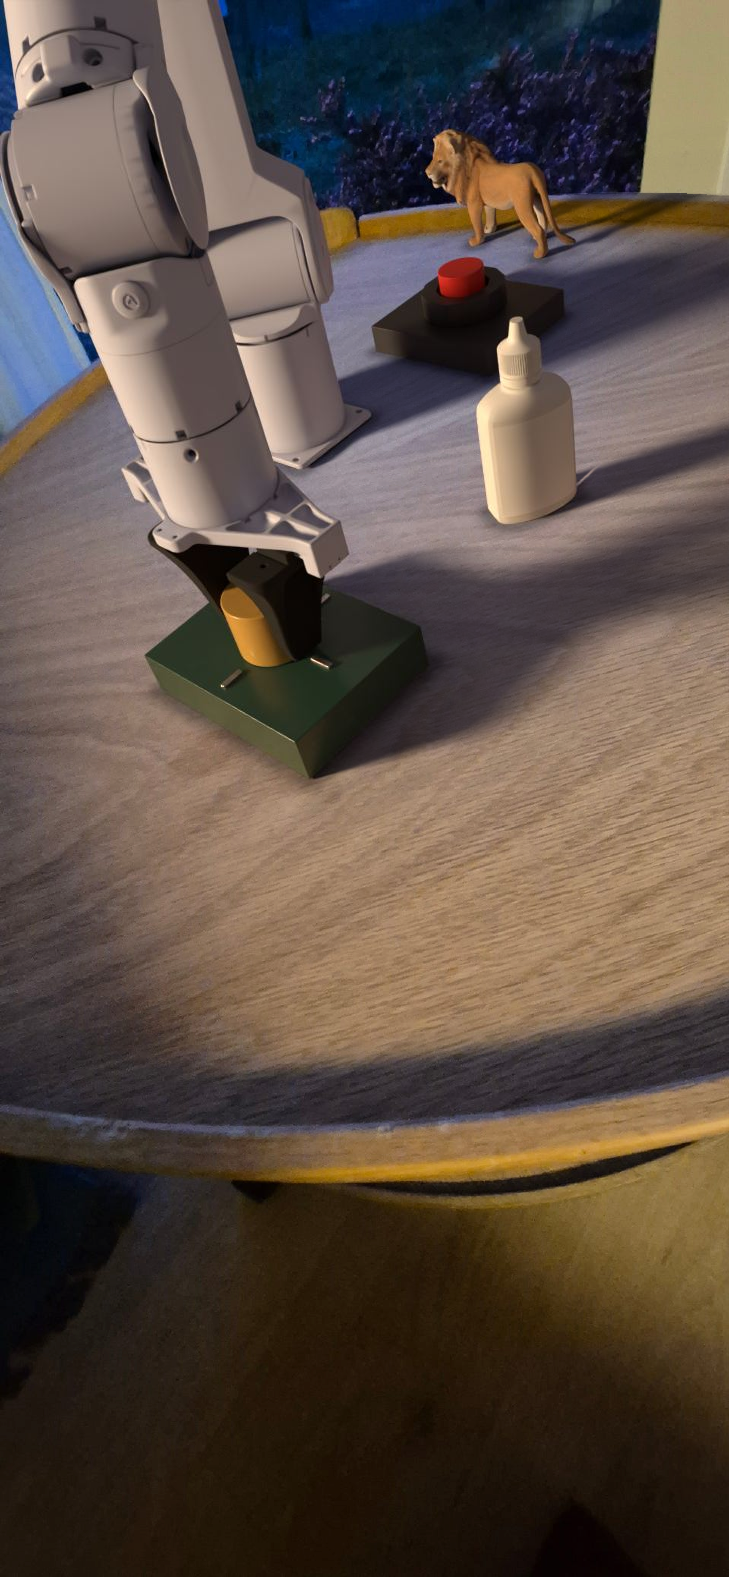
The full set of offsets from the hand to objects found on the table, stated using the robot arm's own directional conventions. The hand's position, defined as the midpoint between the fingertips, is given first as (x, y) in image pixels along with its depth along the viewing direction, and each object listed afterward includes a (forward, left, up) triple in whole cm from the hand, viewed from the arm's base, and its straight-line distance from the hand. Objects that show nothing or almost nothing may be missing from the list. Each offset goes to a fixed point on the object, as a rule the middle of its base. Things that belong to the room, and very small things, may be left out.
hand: (274, 634), depth 53 cm
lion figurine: (-24, +52, -4) cm, 57 cm away
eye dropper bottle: (+3, +20, -4) cm, 21 cm away
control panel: (0, 0, -3) cm, 3 cm away
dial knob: (0, 0, 0) cm, 0 cm away
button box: (-16, +37, -3) cm, 40 cm away
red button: (-16, +37, 0) cm, 40 cm away
